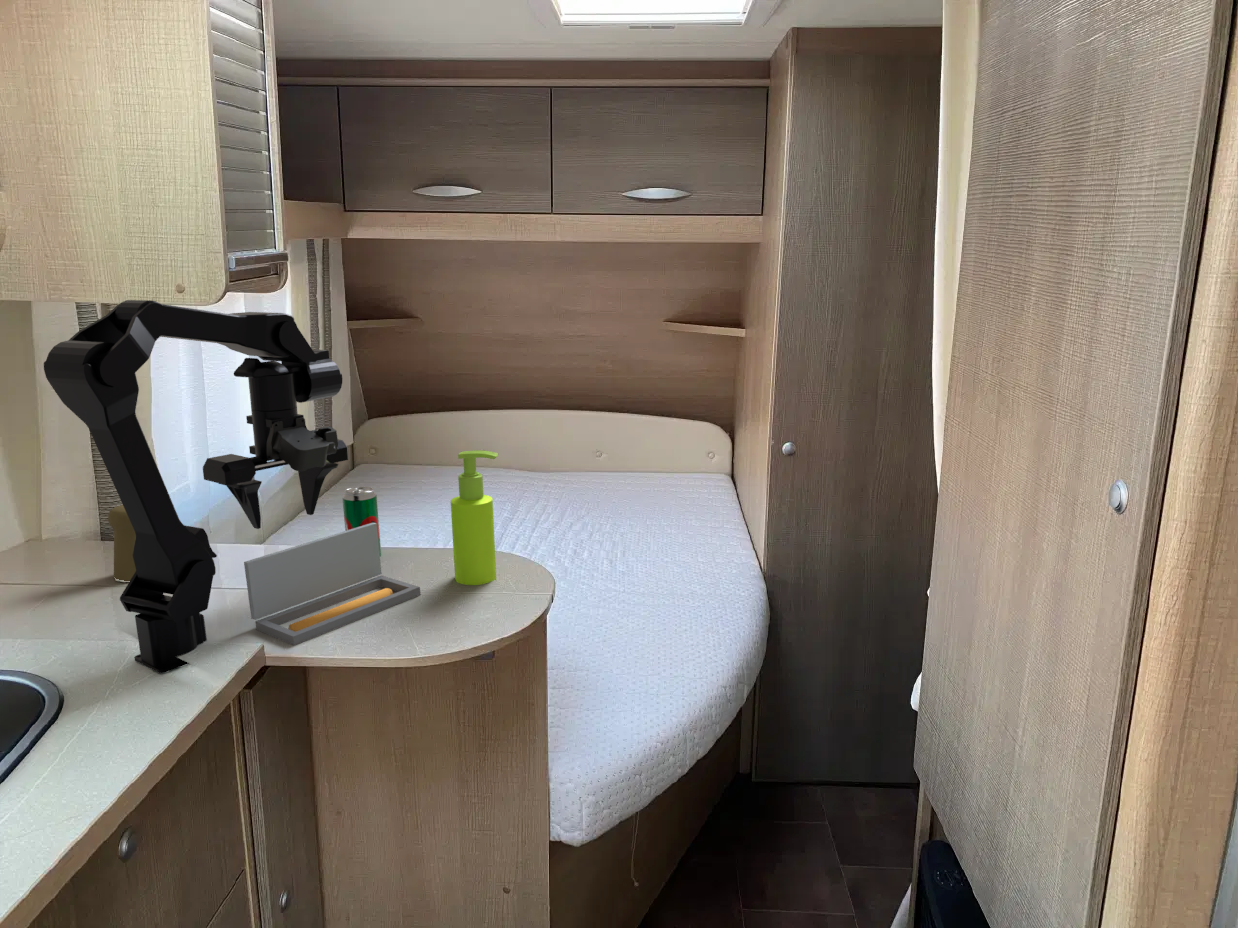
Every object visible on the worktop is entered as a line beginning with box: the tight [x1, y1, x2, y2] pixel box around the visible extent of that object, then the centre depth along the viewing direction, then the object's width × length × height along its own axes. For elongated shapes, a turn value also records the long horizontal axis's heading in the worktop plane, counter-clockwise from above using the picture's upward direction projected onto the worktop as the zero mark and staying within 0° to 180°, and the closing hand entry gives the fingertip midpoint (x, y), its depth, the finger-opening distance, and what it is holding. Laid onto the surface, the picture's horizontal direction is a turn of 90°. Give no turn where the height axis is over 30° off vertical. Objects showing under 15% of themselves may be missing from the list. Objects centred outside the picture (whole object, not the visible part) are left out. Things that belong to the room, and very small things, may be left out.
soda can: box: [342, 486, 382, 558], centre depth 143 cm, size 5×5×12 cm
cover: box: [243, 523, 382, 621], centre depth 124 cm, size 20×8×1 cm
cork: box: [107, 504, 136, 581], centre depth 140 cm, size 6×6×11 cm
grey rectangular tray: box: [254, 574, 421, 646], centre depth 123 cm, size 20×8×2 cm, turn 143°
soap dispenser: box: [450, 449, 499, 586], centre depth 132 cm, size 6×7×20 cm
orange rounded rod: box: [288, 587, 394, 632], centre depth 123 cm, size 16×2×2 cm, turn 143°
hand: (284, 521), depth 127 cm, fingers open, 8 cm apart
